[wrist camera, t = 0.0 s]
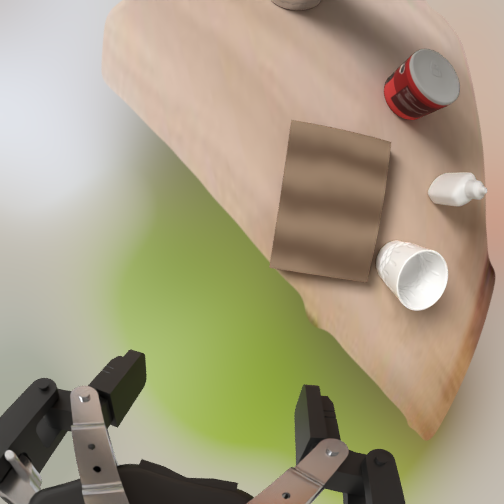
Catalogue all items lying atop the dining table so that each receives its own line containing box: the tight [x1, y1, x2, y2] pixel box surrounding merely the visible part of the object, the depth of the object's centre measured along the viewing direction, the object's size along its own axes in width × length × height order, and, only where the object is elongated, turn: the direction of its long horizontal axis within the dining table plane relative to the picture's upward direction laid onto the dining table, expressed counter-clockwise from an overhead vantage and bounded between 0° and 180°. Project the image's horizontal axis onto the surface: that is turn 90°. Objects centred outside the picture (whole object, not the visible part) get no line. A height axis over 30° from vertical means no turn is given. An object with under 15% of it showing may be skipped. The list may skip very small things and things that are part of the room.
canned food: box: [384, 49, 460, 120], centre depth 29 cm, size 8×8×11 cm
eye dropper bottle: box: [428, 172, 487, 206], centre depth 31 cm, size 4×6×12 cm
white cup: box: [376, 240, 448, 311], centre depth 35 cm, size 8×8×10 cm
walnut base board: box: [270, 120, 391, 282], centre depth 37 cm, size 20×14×3 cm
